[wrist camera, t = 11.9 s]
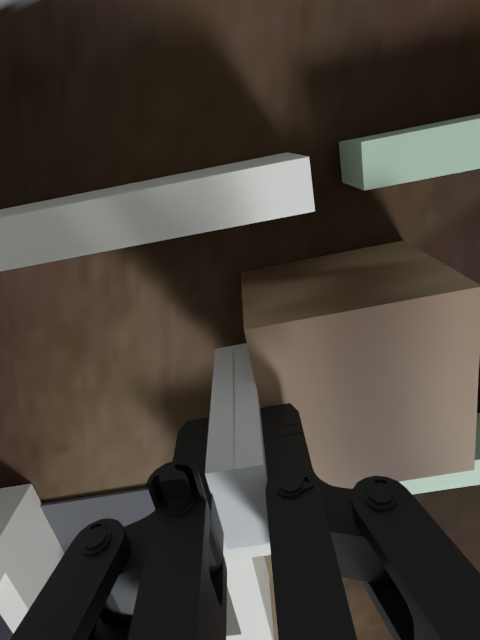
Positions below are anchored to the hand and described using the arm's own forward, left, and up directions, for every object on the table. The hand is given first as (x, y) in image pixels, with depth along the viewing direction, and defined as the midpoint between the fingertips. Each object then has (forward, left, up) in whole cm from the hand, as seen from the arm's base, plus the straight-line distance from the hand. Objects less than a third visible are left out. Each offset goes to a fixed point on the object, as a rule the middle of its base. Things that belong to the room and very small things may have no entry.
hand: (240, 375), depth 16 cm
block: (+4, 0, -3) cm, 5 cm away
